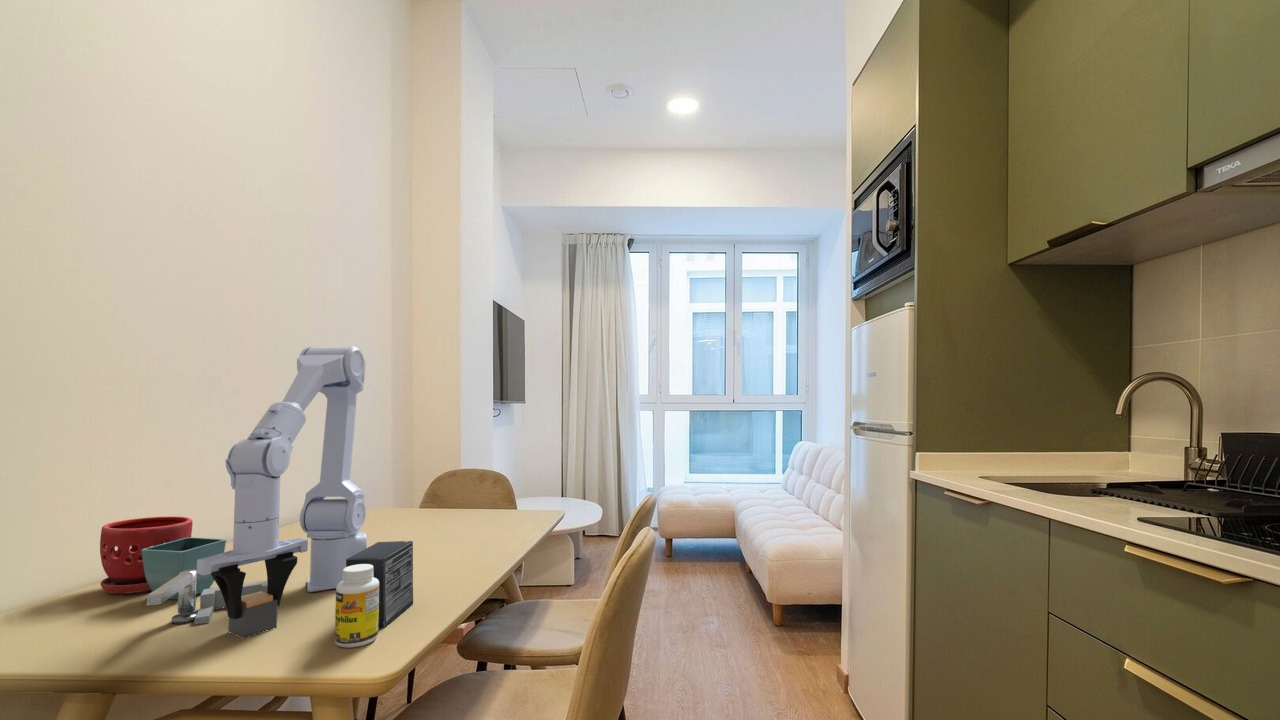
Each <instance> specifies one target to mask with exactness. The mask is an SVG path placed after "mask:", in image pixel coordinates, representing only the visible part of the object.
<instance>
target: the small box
mask: <svg viewBox="0 0 1280 720" xmlns="http://www.w3.org/2000/svg"><path fill="white" fill-rule="evenodd" d="M413 544H414V543H413V540H402V541H401V540H399V541H396V540H394V541H378V542H375V543H374V544H371V545H370V546H367V548H366V549H364V550H362V551H361V552H359V553H357V554H355V555H353V556H351V557H349V558H347V559H346V567H348V566H352V565H357V564H370V565H373V573H374V574H373V575H374V576H373V577H374V578H376V579H378V581H379V621H378V629H385V628H386V627H387V626H389V625H390V624H391V623H392V622H394V621H395V620H396V619H398V618H399V616H401V613H402V614H403V613H404V612H405V611H407V609H408V608H410V607H411V606H413V604H414V586H413V585H414V575H413V574H414V571H413V570H414V563H413V562H414V557H413V556H414V548H413V547H414V545H413ZM394 619H395V620H394Z"/></svg>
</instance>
